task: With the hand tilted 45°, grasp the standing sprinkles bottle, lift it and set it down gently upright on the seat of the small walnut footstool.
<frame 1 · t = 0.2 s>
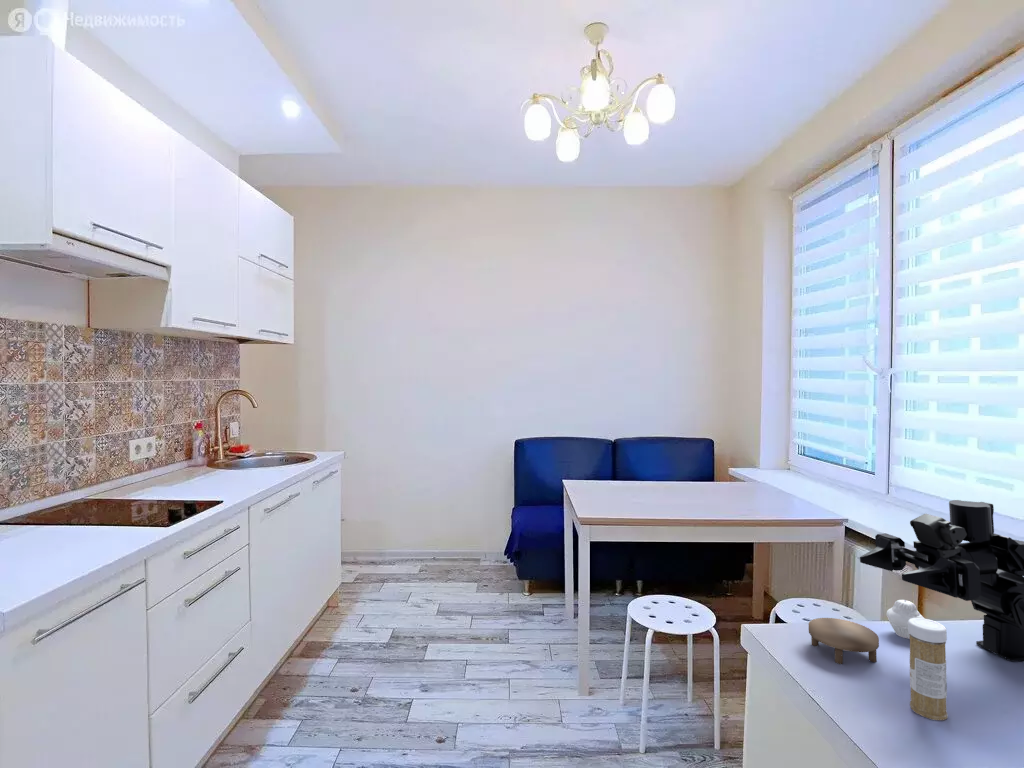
hand: (880, 568, 93), 17 cm above the counter, tool horizontal, fingers open, 9 cm apart
sprinkles bottle: (928, 714, 78), on the counter
walnut footstool: (842, 652, 96), on the counter
muffin: (905, 636, 102), on the counter
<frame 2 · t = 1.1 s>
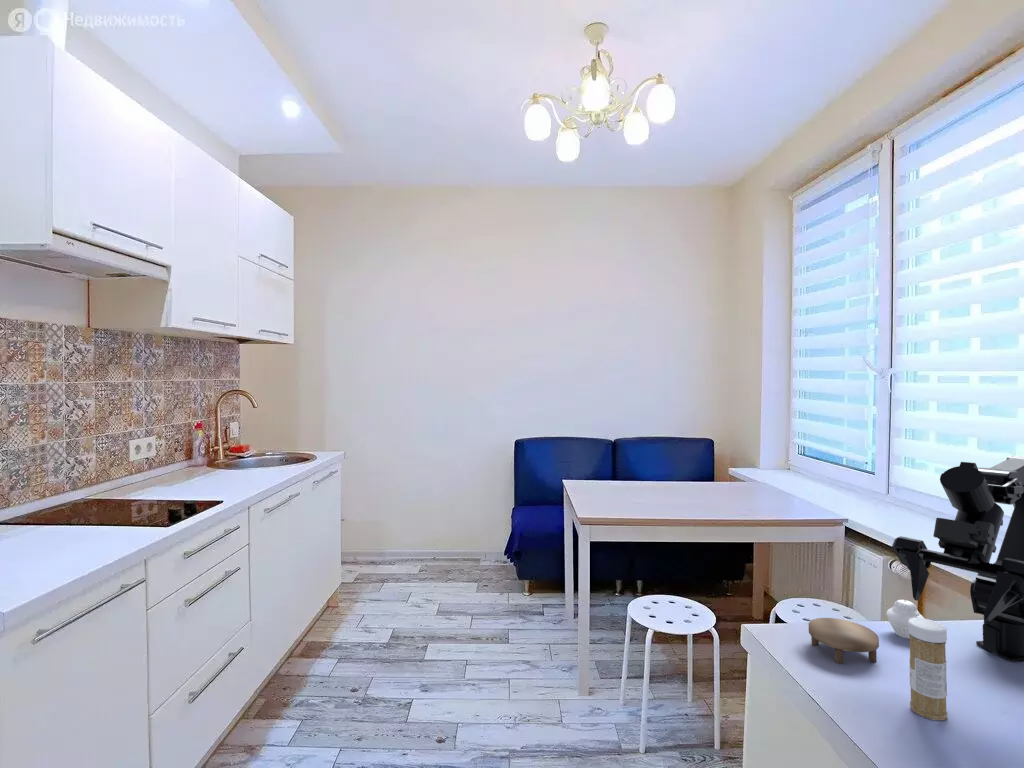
hand: (949, 608, 83), 14 cm above the counter, tool tilted 45°, fingers open, 9 cm apart
nothing on the counter moved.
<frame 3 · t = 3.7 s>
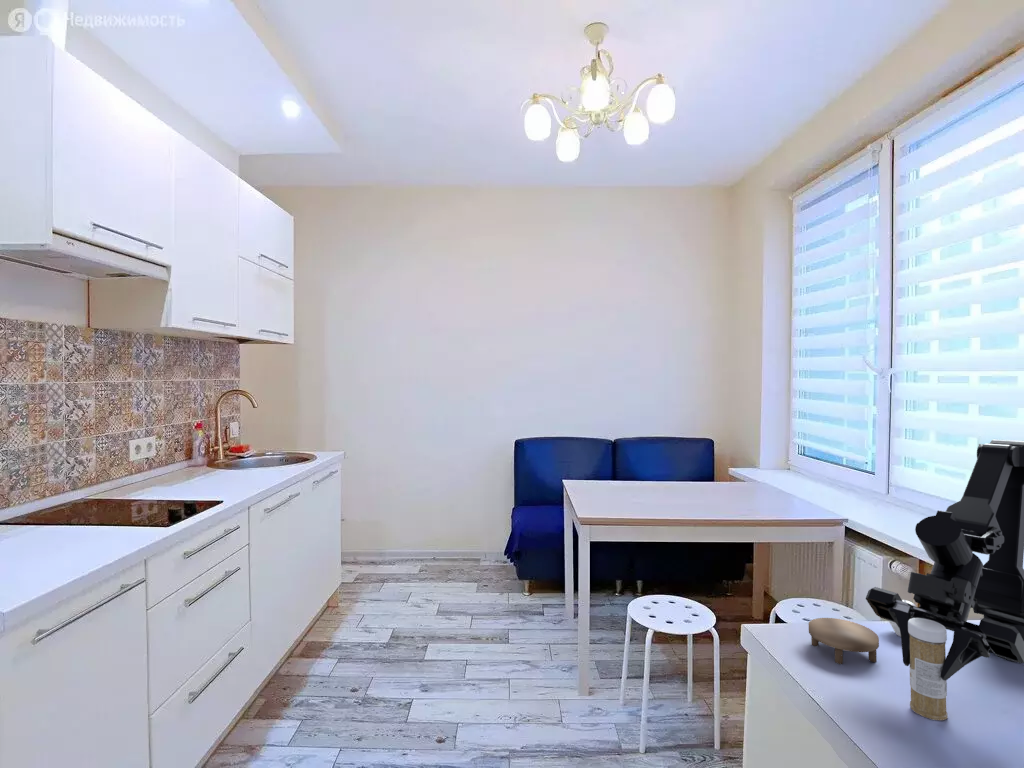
hand: (923, 671, 77), 7 cm above the counter, tool tilted 45°, fingers closed on sprinkles bottle, 4 cm apart
sprinkles bottle: (928, 714, 78), on the counter, touching gripper
everything else where it was.
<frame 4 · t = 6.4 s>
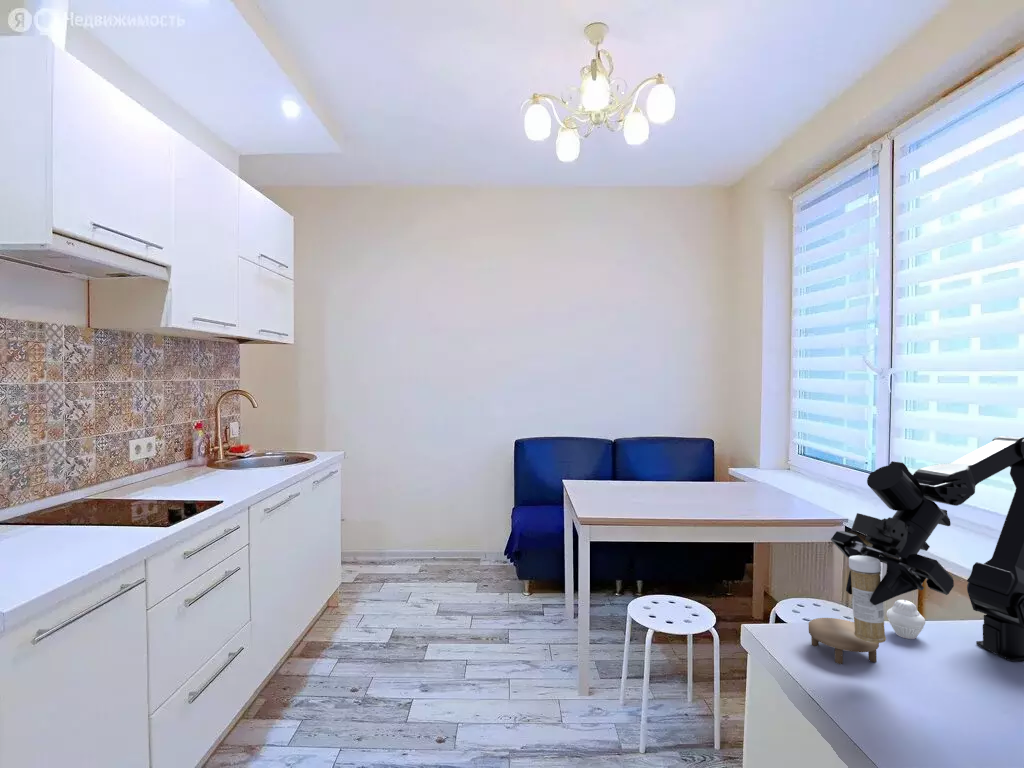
hand: (859, 597, 88), 13 cm above the counter, tool tilted 45°, fingers closed on sprinkles bottle, 4 cm apart
sprinkles bottle: (870, 639, 88), point 6 cm above the counter, touching gripper
everything else where it was.
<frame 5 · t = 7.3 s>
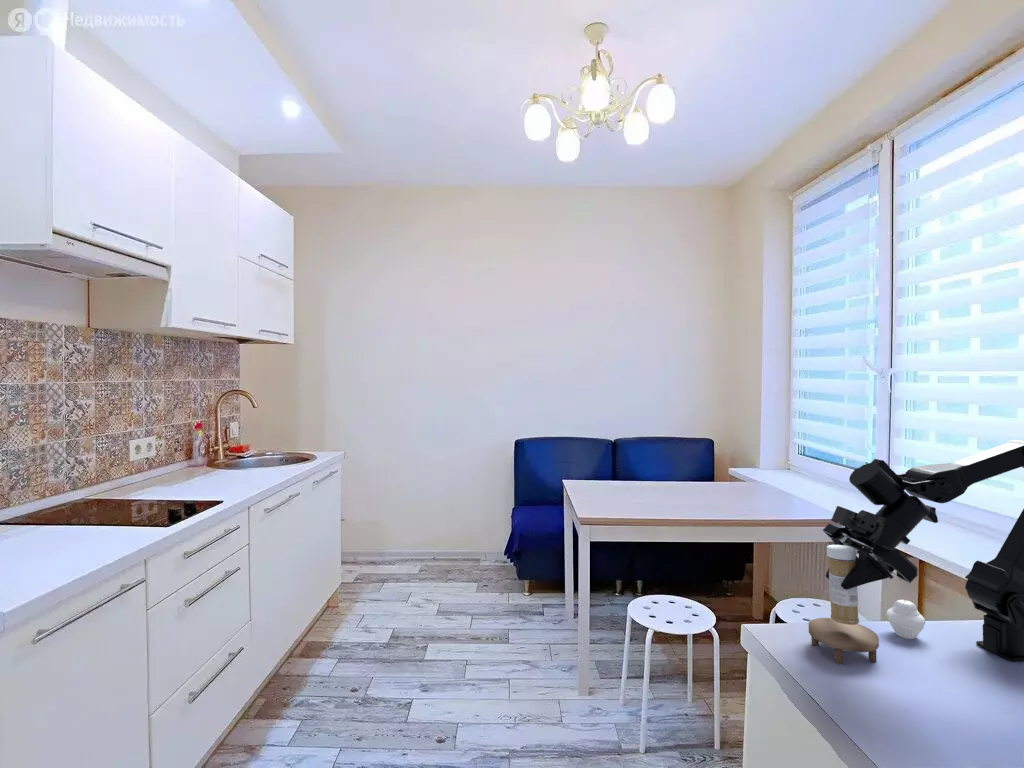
hand: (835, 582, 96), 13 cm above the counter, tool tilted 45°, fingers closed on sprinkles bottle, 4 cm apart
sprinkles bottle: (844, 622, 95), point 6 cm above the counter, touching gripper
everything else where it was.
when the fingers open (12 cm above the counter, at t = 7.8 s): sprinkles bottle stays where it is, resting on walnut footstool.
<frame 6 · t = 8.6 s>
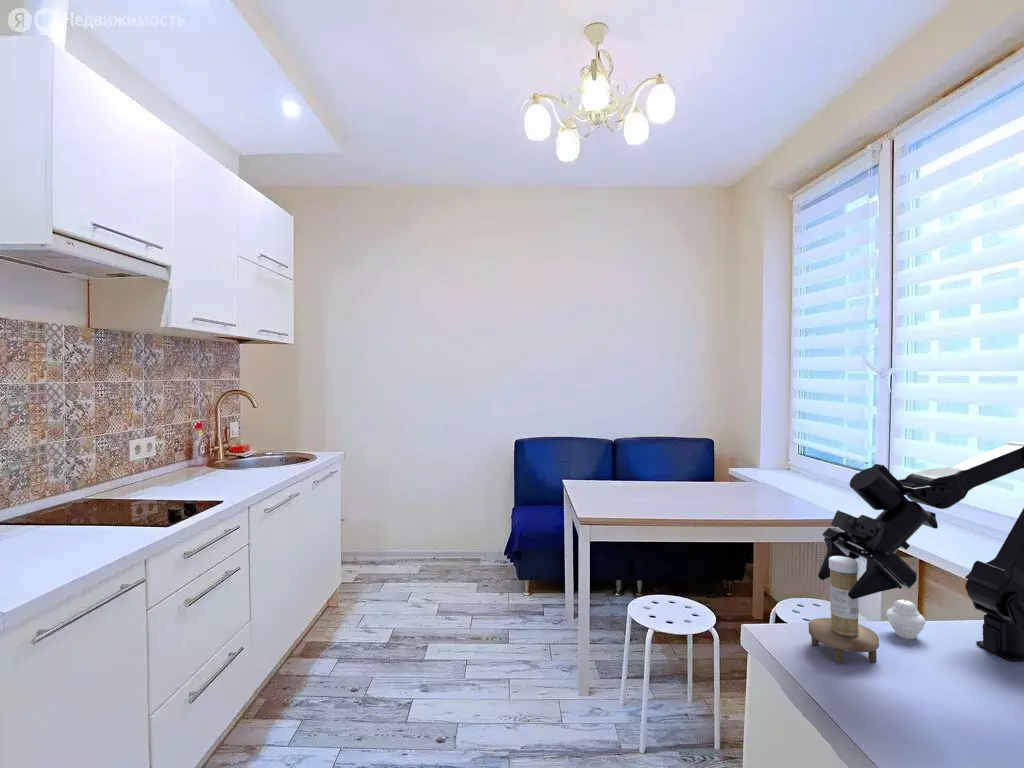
hand: (834, 587, 96), 12 cm above the counter, tool tilted 45°, fingers open, 9 cm apart
sprinkles bottle: (844, 633, 96), point 4 cm above the counter, touching walnut footstool
everything else where it was.
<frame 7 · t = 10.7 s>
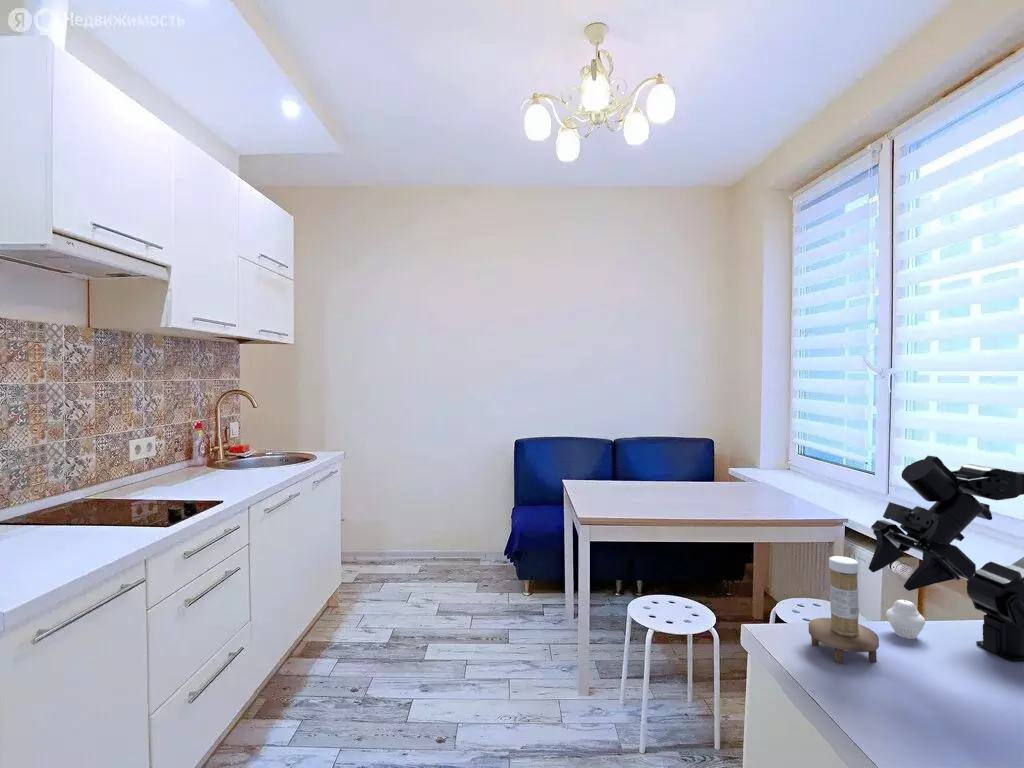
hand: (887, 579, 96), 14 cm above the counter, tool tilted 45°, fingers open, 9 cm apart
nothing on the counter moved.
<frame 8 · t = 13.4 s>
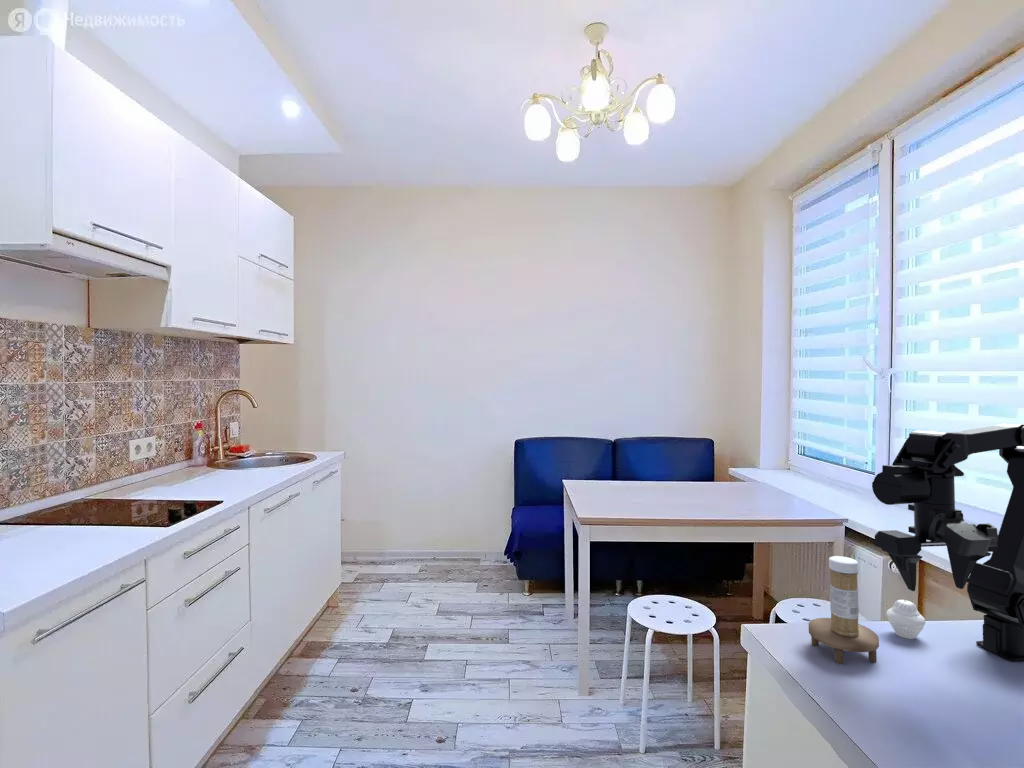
hand: (935, 589, 92), 13 cm above the counter, tool pointing down, fingers open, 9 cm apart
nothing on the counter moved.
at the end: sprinkles bottle 0.5 cm off-centre on the walnut footstool, point 3.8 cm above the walnut footstool's base; sprinkles bottle tilted 0°; the gripper is holding nothing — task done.
